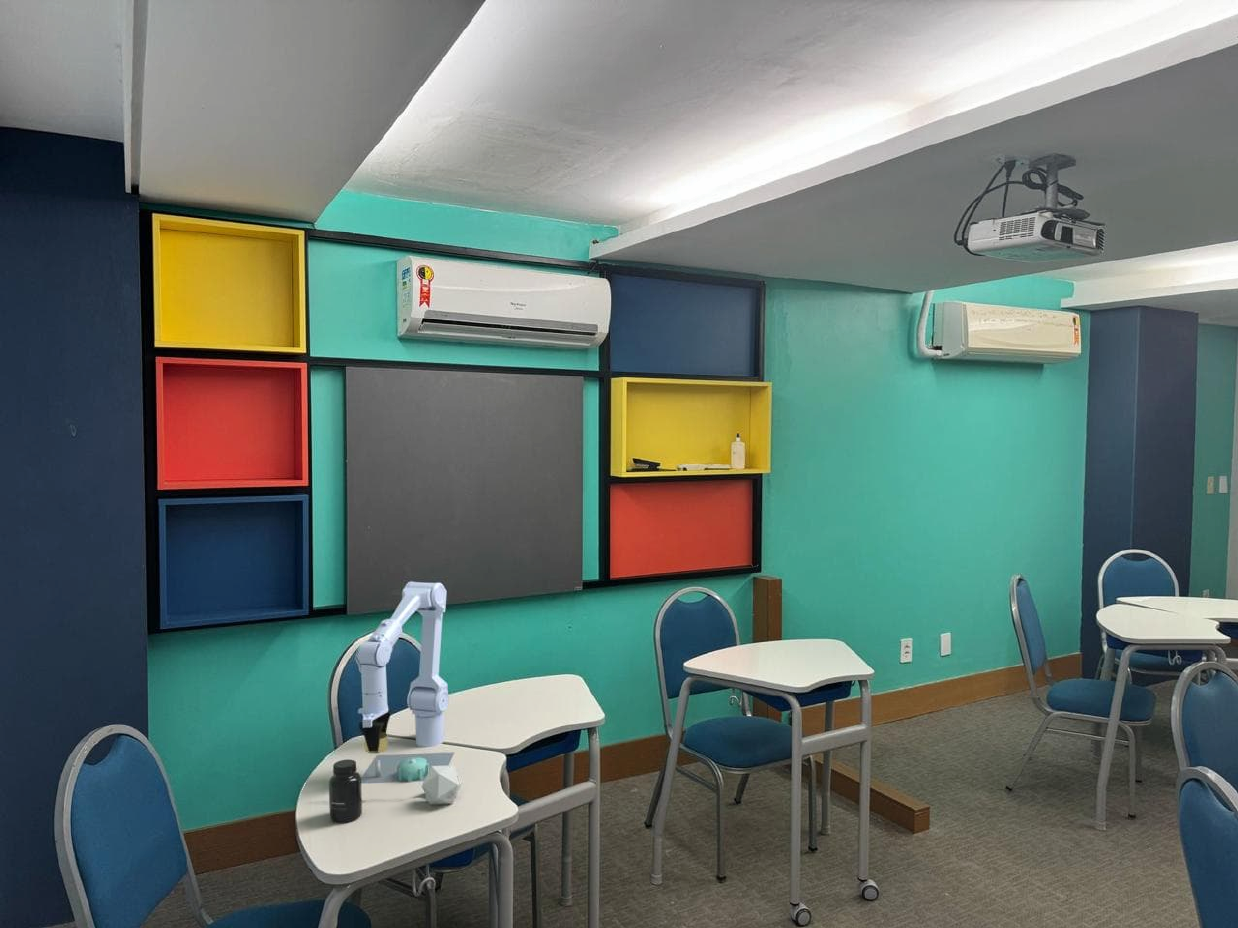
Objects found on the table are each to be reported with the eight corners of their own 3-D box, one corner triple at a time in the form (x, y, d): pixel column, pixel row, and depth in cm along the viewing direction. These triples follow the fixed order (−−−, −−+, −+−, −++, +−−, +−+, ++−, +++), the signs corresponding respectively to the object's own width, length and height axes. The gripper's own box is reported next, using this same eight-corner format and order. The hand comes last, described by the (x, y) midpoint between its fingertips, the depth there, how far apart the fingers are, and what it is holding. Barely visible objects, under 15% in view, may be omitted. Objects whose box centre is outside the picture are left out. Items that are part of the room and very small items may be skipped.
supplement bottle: (331, 826, 179) (328, 771, 178) (328, 813, 185) (326, 760, 185) (364, 819, 182) (362, 765, 181) (360, 807, 188) (358, 754, 187)
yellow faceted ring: (369, 745, 204) (368, 732, 204) (389, 744, 204) (389, 731, 204) (363, 753, 199) (362, 740, 199) (384, 752, 199) (384, 739, 199)
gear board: (377, 758, 215) (376, 740, 215) (454, 756, 216) (453, 737, 216) (357, 787, 198) (356, 767, 198) (441, 784, 199) (440, 764, 198)
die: (442, 816, 184) (466, 775, 186) (410, 795, 185) (434, 755, 188) (449, 813, 192) (472, 774, 194) (418, 793, 193) (441, 754, 195)
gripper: (366, 682, 208) (368, 735, 209) (348, 701, 194) (351, 758, 194) (394, 681, 208) (396, 734, 209) (379, 700, 194) (381, 757, 194)
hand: (376, 746), depth 202 cm, fingers closed on yellow faceted ring, 5 cm apart
